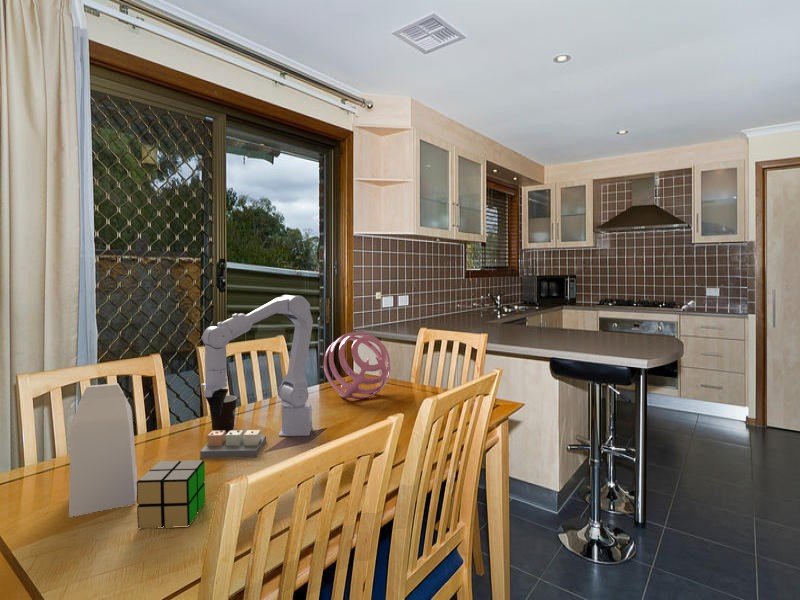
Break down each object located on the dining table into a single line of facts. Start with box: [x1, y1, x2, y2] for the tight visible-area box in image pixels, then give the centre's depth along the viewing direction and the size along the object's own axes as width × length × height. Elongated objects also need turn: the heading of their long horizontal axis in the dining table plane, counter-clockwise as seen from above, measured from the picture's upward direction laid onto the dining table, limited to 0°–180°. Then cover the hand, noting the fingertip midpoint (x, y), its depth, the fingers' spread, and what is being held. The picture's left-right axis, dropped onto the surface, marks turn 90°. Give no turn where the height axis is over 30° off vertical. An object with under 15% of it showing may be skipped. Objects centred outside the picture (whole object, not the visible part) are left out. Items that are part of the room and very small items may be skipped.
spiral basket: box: [323, 331, 391, 400], centre depth 191 cm, size 28×28×27 cm
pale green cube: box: [226, 429, 244, 446], centre depth 132 cm, size 4×4×4 cm
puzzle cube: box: [136, 459, 206, 529], centre depth 96 cm, size 10×10×10 cm
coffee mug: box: [209, 394, 238, 433], centre depth 151 cm, size 12×9×10 cm
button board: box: [199, 434, 267, 459], centre depth 133 cm, size 15×12×2 cm
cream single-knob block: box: [243, 429, 262, 446], centre depth 133 cm, size 4×4×4 cm
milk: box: [68, 382, 138, 518], centre depth 102 cm, size 12×12×26 cm
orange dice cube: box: [207, 430, 227, 446], centre depth 132 cm, size 4×4×4 cm
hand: (216, 415), depth 132 cm, fingers closed
